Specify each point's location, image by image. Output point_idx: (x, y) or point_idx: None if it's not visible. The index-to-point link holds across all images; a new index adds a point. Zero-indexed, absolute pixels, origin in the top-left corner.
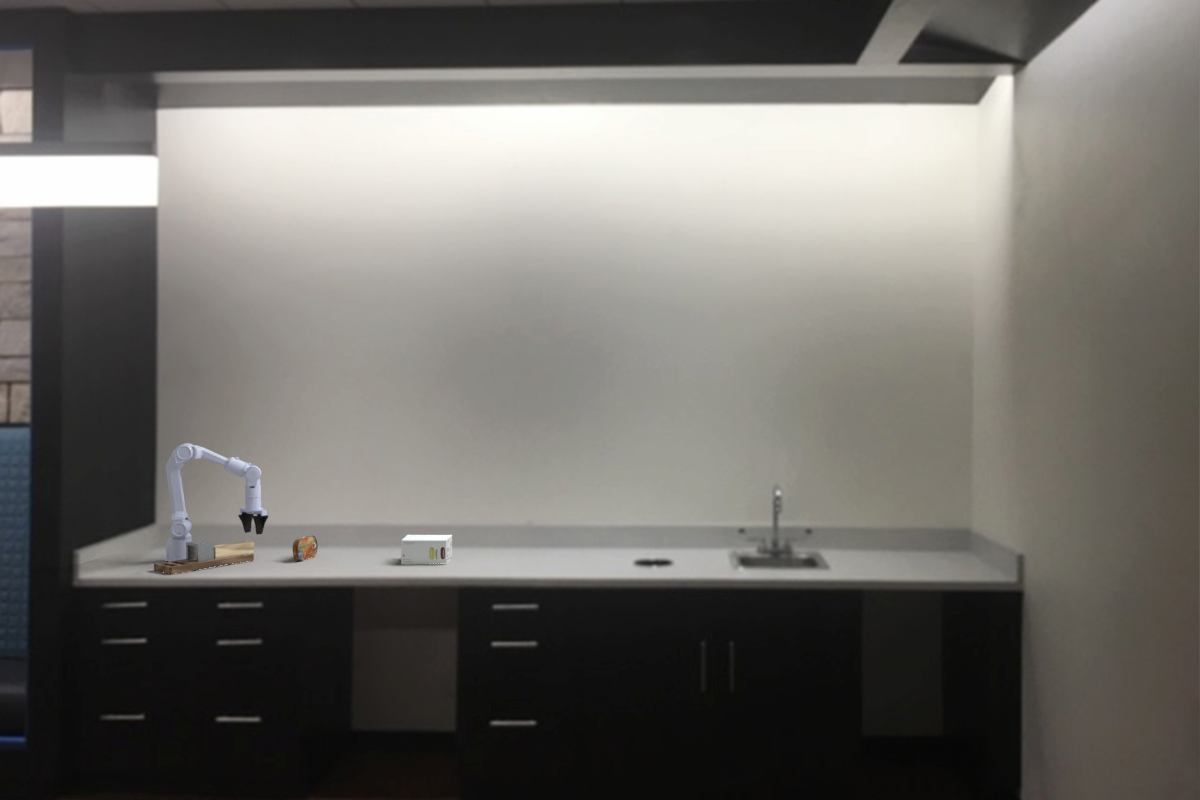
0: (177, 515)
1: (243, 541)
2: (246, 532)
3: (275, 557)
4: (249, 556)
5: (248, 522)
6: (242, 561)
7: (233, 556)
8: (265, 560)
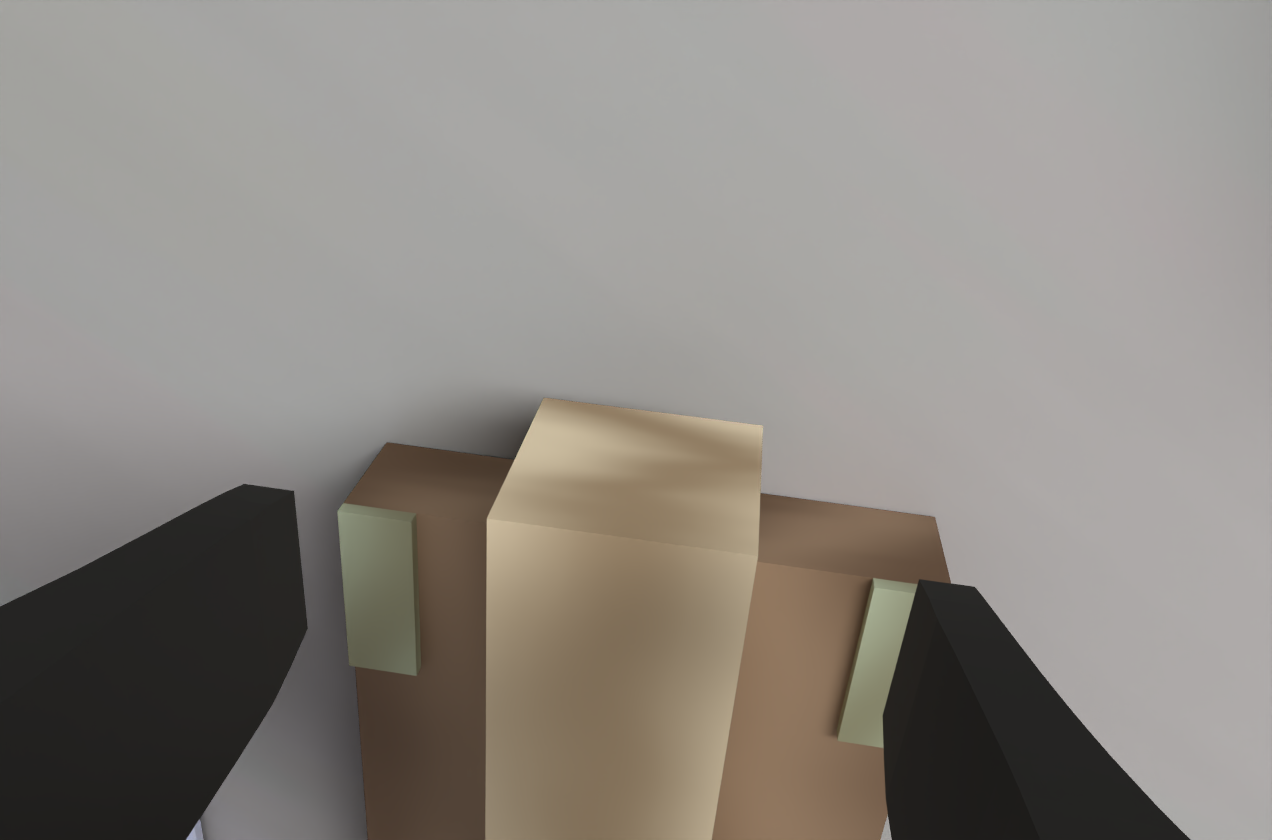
0: None
1: (508, 636)
2: (301, 610)
3: (1061, 54)
4: None
5: (89, 795)
6: None
7: (783, 820)
8: (1100, 389)
